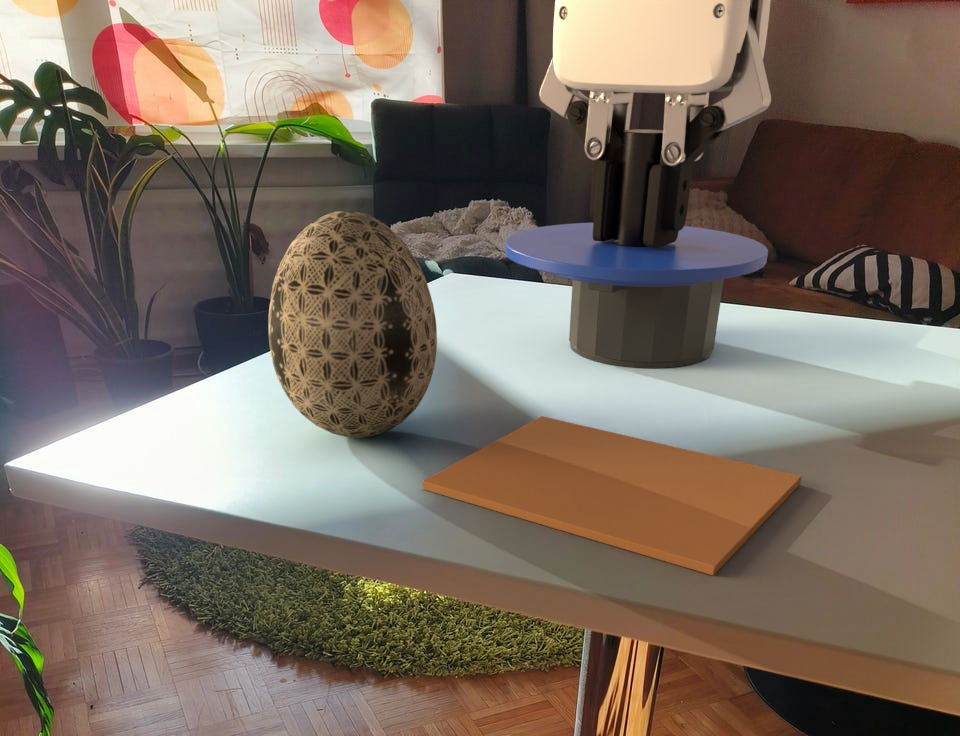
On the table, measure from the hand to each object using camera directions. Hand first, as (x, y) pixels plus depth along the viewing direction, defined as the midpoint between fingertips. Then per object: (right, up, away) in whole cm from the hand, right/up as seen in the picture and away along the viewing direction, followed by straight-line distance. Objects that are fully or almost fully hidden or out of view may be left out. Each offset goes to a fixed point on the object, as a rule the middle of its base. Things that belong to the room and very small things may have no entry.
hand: (635, 238), depth 50 cm
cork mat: (0, -13, +8) cm, 15 cm away
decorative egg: (-18, -7, +16) cm, 25 cm away
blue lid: (0, -1, 0) cm, 1 cm away
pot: (+7, +6, +36) cm, 37 cm away
